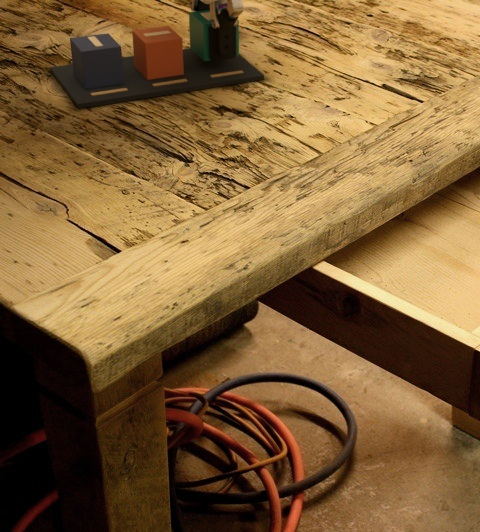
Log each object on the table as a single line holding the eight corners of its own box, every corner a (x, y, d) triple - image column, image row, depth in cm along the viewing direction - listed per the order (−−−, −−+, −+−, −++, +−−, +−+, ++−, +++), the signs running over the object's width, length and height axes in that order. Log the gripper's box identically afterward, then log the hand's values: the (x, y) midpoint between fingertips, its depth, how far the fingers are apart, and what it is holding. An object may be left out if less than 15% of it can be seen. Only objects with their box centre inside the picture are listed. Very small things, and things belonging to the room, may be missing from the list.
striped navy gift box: (85, 89, 102) (81, 50, 100) (73, 75, 105) (69, 36, 103) (124, 84, 104) (121, 45, 102) (111, 69, 107) (108, 32, 105)
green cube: (204, 61, 108) (203, 23, 105) (190, 48, 111) (188, 11, 108) (239, 56, 110) (238, 19, 107) (224, 43, 113) (223, 7, 110)
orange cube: (147, 80, 105) (145, 42, 103) (134, 66, 108) (131, 29, 106) (184, 74, 107) (182, 37, 105) (170, 61, 110) (168, 24, 108)
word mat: (78, 109, 99) (77, 102, 99) (50, 71, 107) (49, 66, 107) (264, 79, 109) (264, 74, 109) (226, 47, 117) (226, 42, 116)
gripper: (150, -126, 104) (158, 31, 114) (209, -90, 92) (212, 82, 102) (212, -129, 107) (215, 24, 118) (276, -95, 96) (273, 72, 106)
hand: (214, 49), depth 110 cm, fingers closed on green cube, 4 cm apart
